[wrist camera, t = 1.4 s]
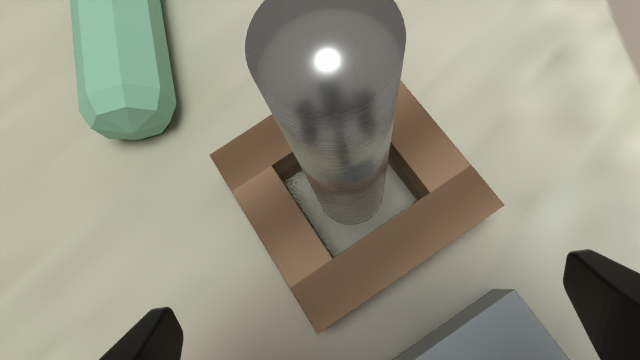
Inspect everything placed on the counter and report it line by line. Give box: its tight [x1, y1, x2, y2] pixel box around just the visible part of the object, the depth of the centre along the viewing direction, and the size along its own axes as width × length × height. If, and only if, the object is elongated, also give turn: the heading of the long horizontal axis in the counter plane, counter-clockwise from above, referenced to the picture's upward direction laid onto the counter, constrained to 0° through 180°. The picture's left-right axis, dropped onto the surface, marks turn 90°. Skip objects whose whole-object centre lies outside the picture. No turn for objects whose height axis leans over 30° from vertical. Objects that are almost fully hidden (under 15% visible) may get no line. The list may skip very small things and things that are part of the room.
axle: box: [245, 0, 406, 224], centre depth 15 cm, size 3×3×14 cm
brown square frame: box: [210, 80, 504, 334], centre depth 20 cm, size 10×10×3 cm
